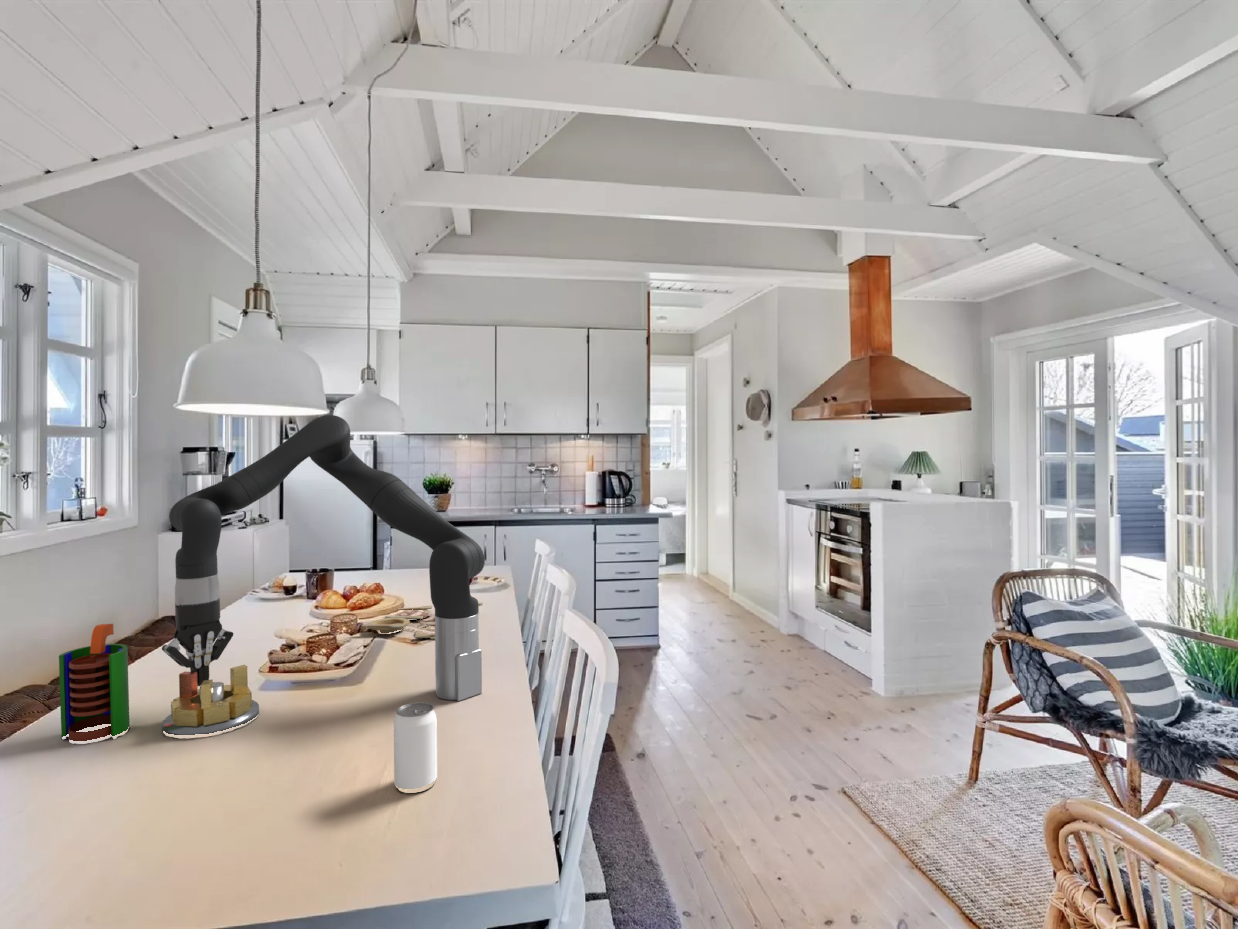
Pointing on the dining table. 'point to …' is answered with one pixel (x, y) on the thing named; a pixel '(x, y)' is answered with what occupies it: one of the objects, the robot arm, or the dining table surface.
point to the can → (415, 745)
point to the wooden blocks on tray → (210, 699)
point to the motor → (94, 688)
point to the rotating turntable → (201, 729)
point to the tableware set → (402, 623)
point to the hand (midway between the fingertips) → (200, 684)
